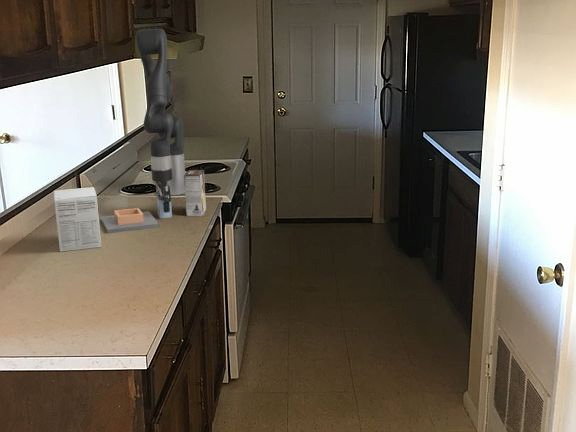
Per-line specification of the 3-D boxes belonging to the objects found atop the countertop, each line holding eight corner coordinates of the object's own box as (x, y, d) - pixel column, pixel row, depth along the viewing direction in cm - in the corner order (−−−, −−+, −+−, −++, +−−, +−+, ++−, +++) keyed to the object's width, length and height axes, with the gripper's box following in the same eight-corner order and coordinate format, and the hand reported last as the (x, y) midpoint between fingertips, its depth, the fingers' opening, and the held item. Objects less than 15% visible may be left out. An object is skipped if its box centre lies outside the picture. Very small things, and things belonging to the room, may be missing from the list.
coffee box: (190, 209, 254) (187, 169, 250) (206, 209, 254) (204, 169, 250) (186, 216, 245) (183, 174, 241) (203, 216, 245) (200, 174, 241)
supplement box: (102, 247, 211) (97, 195, 206) (59, 252, 207) (53, 199, 202) (99, 235, 223) (94, 186, 218) (58, 240, 219) (52, 190, 214)
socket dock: (100, 219, 242) (99, 209, 241) (149, 214, 248) (148, 203, 247) (107, 233, 226) (106, 221, 225) (158, 226, 233) (158, 215, 231)
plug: (157, 215, 247) (156, 195, 245) (169, 213, 249) (168, 193, 246) (160, 218, 243) (158, 197, 241) (172, 216, 245) (170, 196, 242)
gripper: (147, 164, 246) (150, 206, 250) (155, 172, 233) (158, 215, 237) (167, 163, 248) (170, 203, 253) (175, 170, 236) (178, 212, 240)
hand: (164, 209), depth 245 cm, fingers open, 8 cm apart
